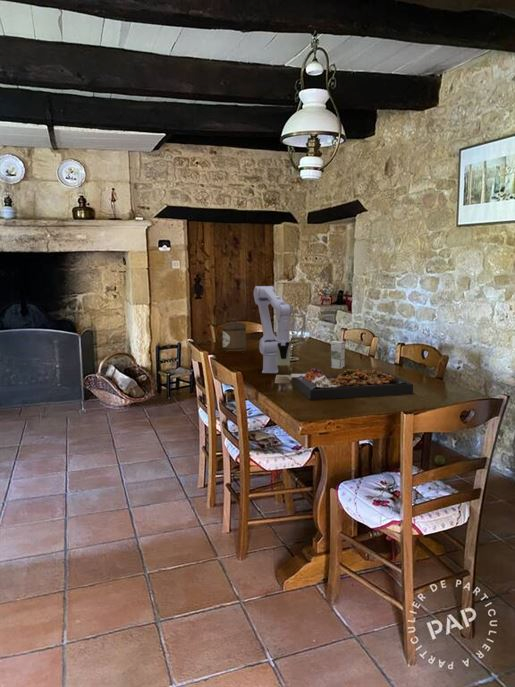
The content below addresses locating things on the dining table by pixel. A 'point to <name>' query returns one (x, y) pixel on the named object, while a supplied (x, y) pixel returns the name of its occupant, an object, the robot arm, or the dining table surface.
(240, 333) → the brown lidded canister
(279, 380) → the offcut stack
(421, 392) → the dining table surface
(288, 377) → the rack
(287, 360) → the grey green block
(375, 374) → the food platter
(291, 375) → the mat
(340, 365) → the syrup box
